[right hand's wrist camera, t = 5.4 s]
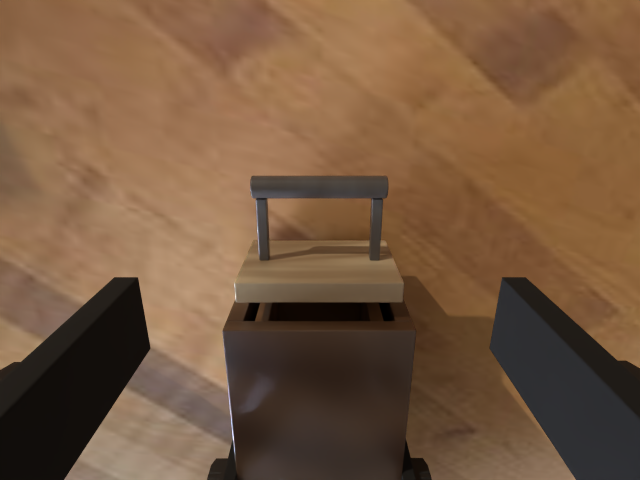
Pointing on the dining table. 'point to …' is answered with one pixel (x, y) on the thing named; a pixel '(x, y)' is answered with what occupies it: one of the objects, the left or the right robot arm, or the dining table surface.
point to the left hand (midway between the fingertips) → (319, 425)
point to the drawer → (319, 258)
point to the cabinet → (319, 395)
